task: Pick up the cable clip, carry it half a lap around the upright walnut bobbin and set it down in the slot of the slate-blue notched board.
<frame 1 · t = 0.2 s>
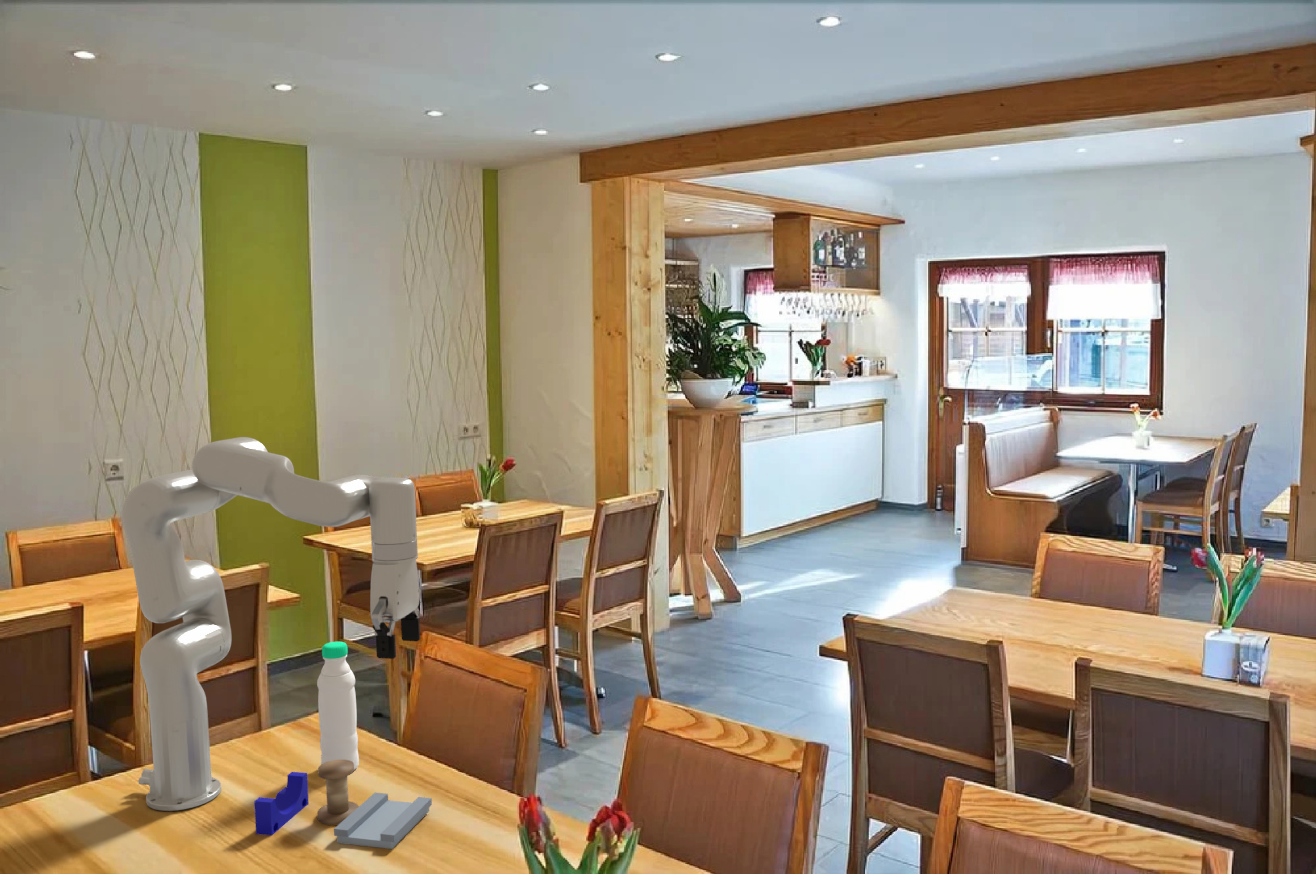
hand: (399, 649, 182), 31 cm above the table, tool pointing down, fingers open, 9 cm apart
bobbin: (338, 815, 187), on the table
water bottle: (340, 769, 207), on the table
notched board: (384, 826, 183), on the table
cable clip: (279, 820, 186), on the table
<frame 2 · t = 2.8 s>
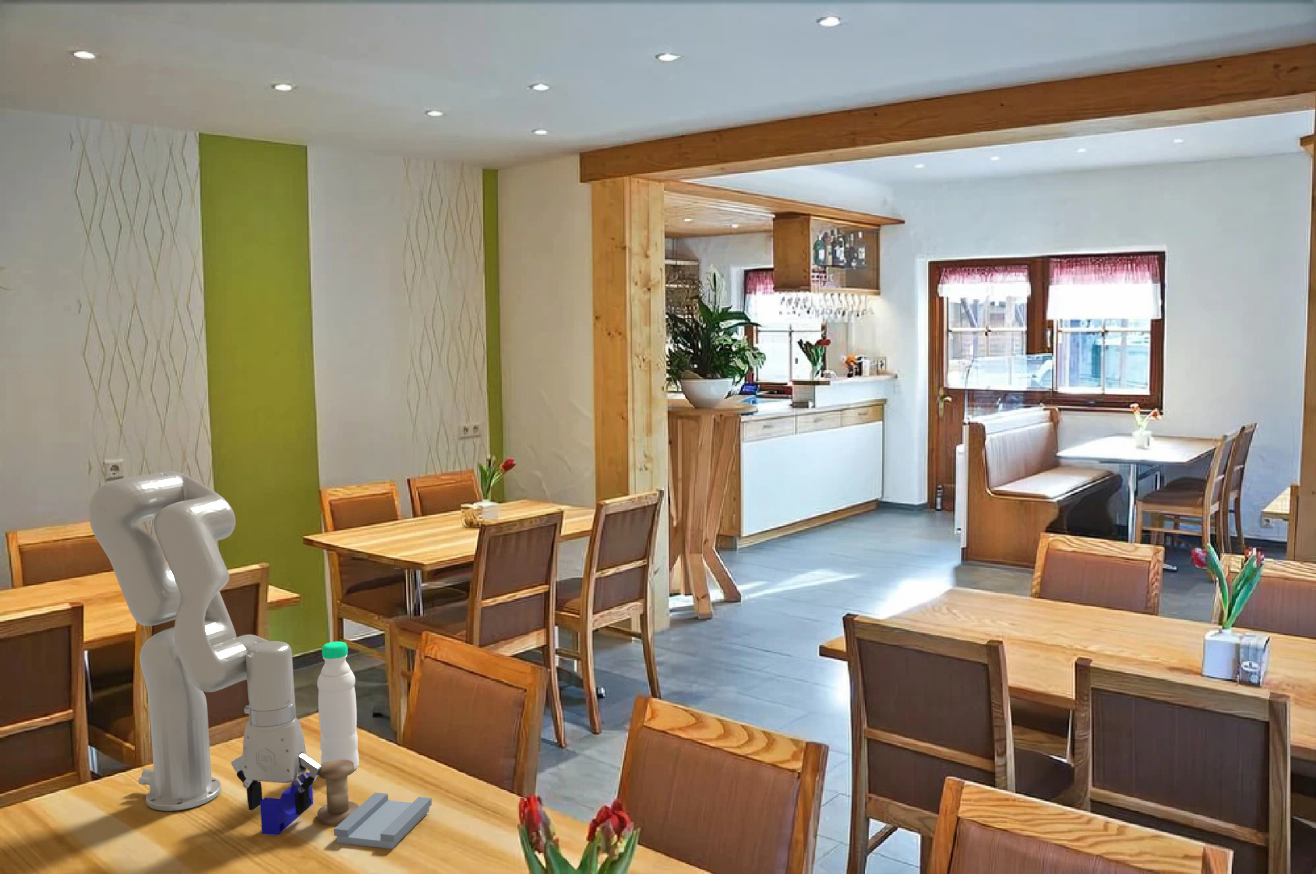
hand: (279, 809, 186), 2 cm above the table, tool pointing down, fingers open, 8 cm apart
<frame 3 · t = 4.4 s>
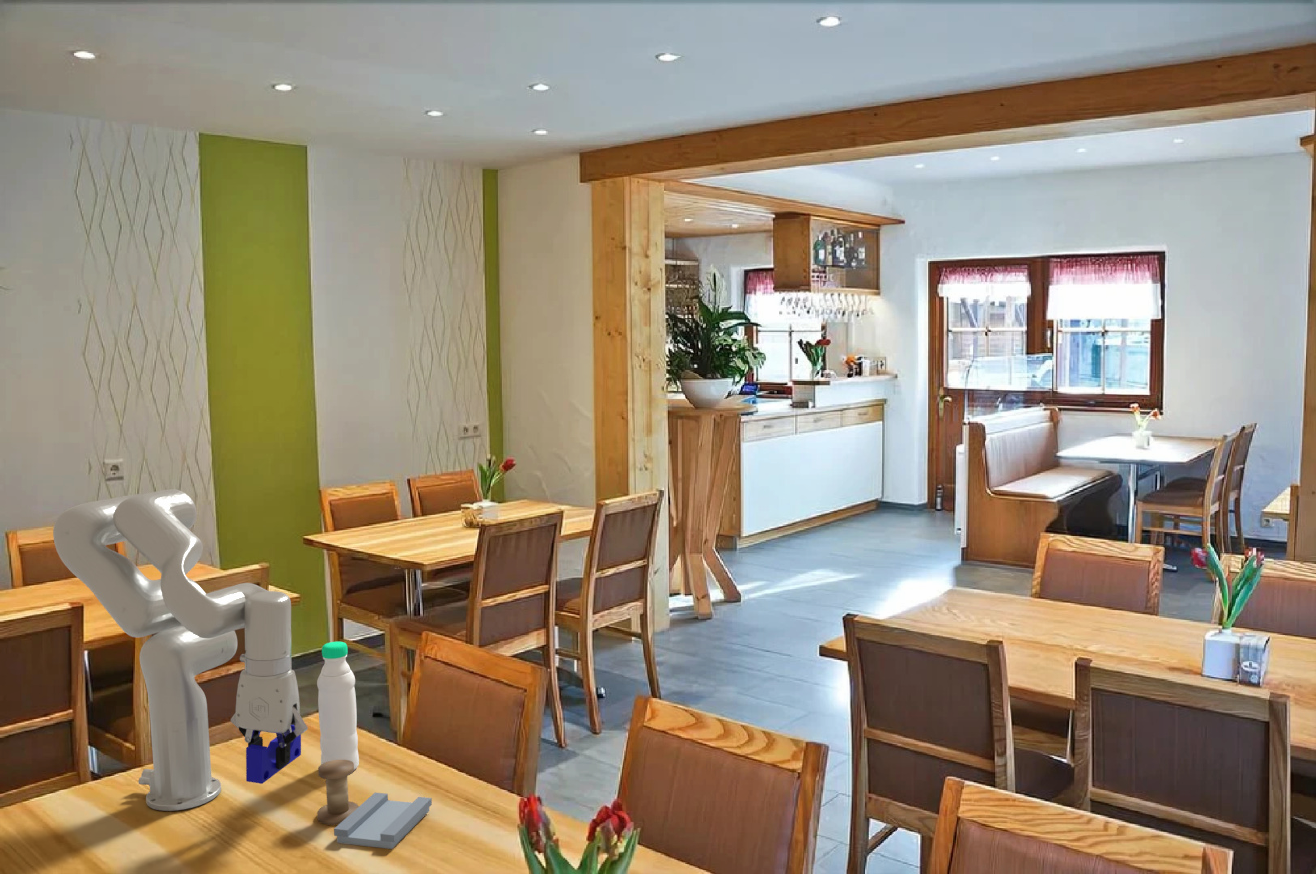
hand: (269, 763, 186), 10 cm above the table, tool pointing down, fingers closed on cable clip, 4 cm apart
cable clip: (270, 768, 186), point 9 cm above the table, touching gripper
everything else where it was.
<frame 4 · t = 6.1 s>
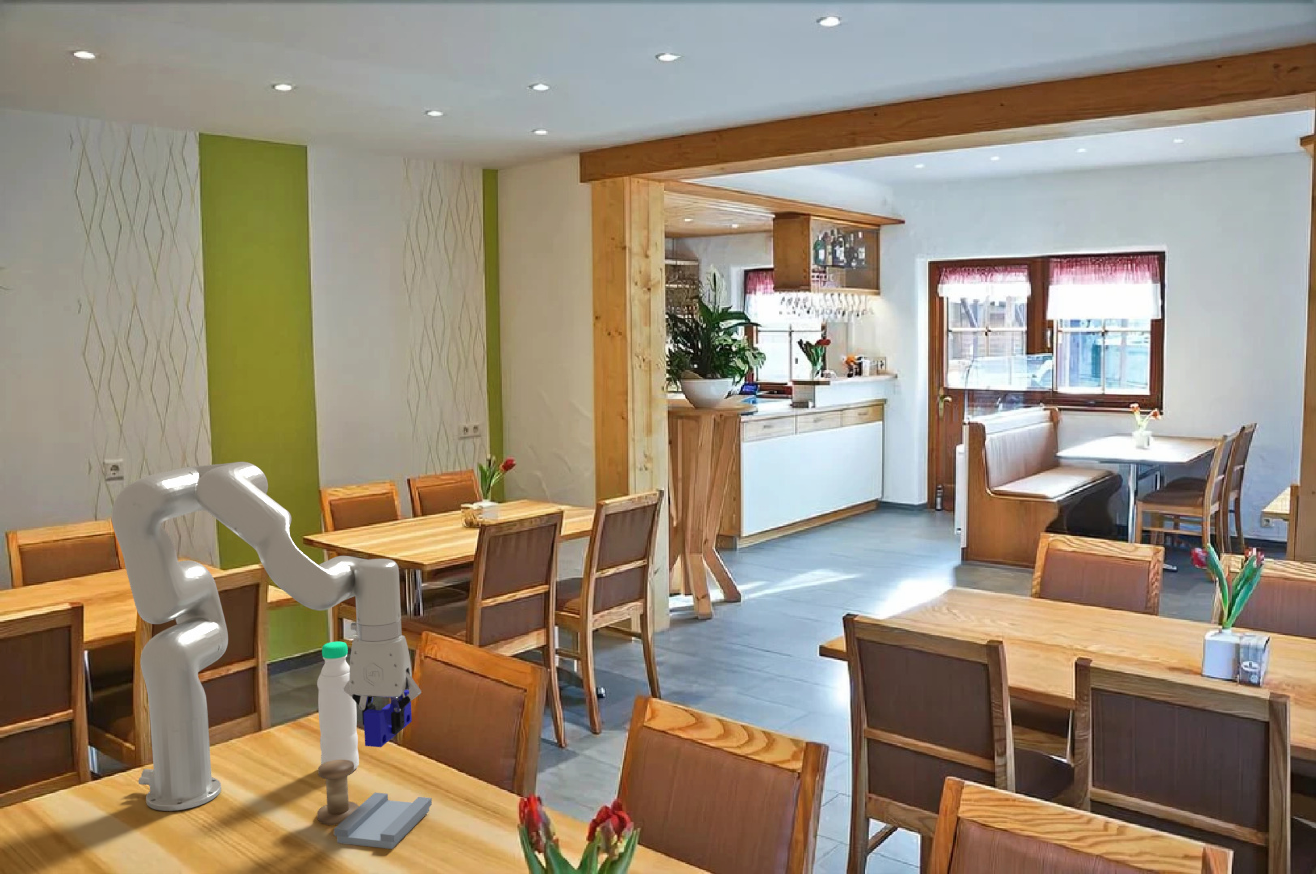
hand: (384, 729, 188), 15 cm above the table, tool pointing down, fingers closed on cable clip, 4 cm apart
cable clip: (385, 734, 189), point 13 cm above the table, touching gripper
everything else where it was.
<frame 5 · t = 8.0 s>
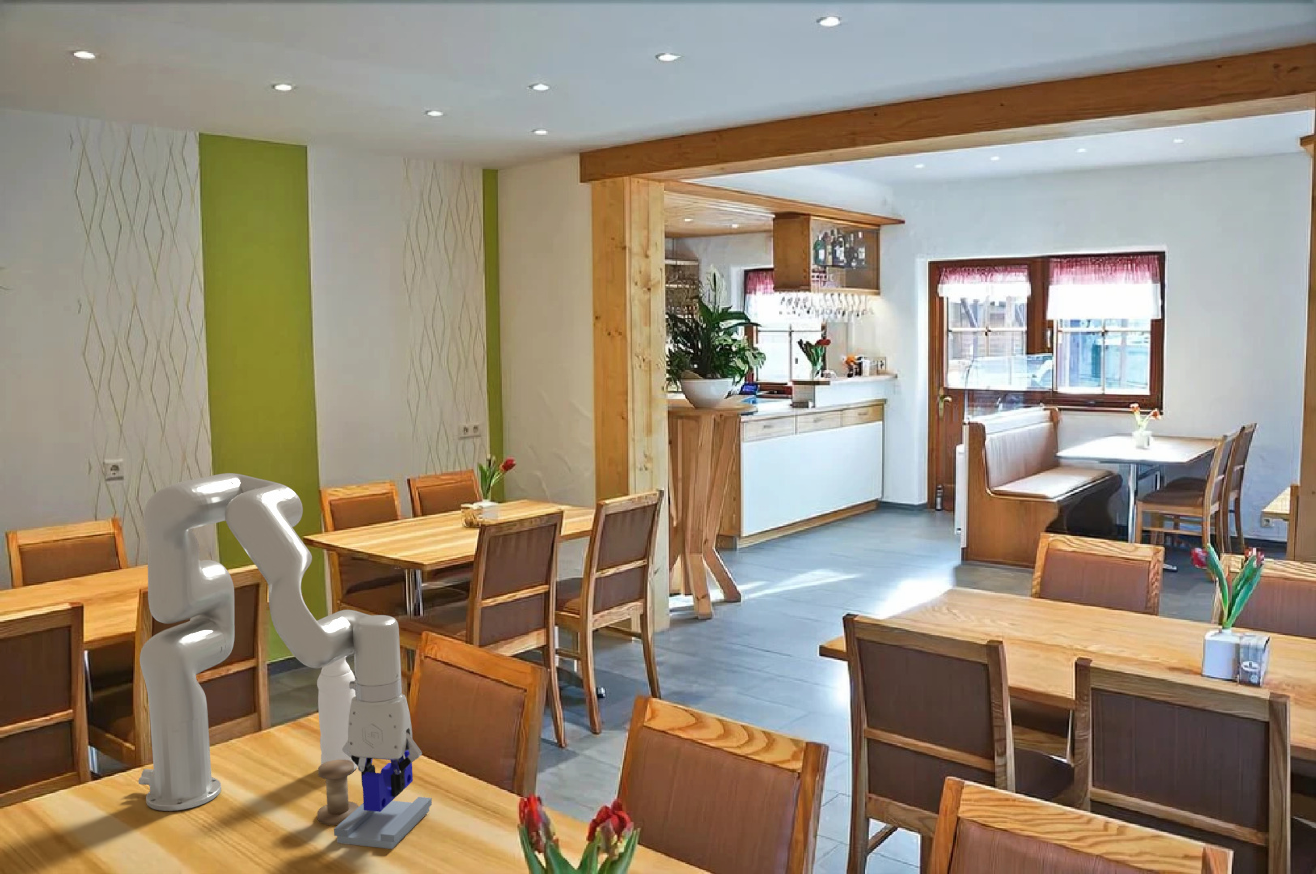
hand: (383, 791, 182), 6 cm above the table, tool pointing down, fingers closed on cable clip, 4 cm apart
cable clip: (385, 796, 183), point 5 cm above the table, touching gripper
everything else where it was.
when the fingers open (3 cm above the table, at t = 9.0 s): cable clip stays where it is, resting on notched board.
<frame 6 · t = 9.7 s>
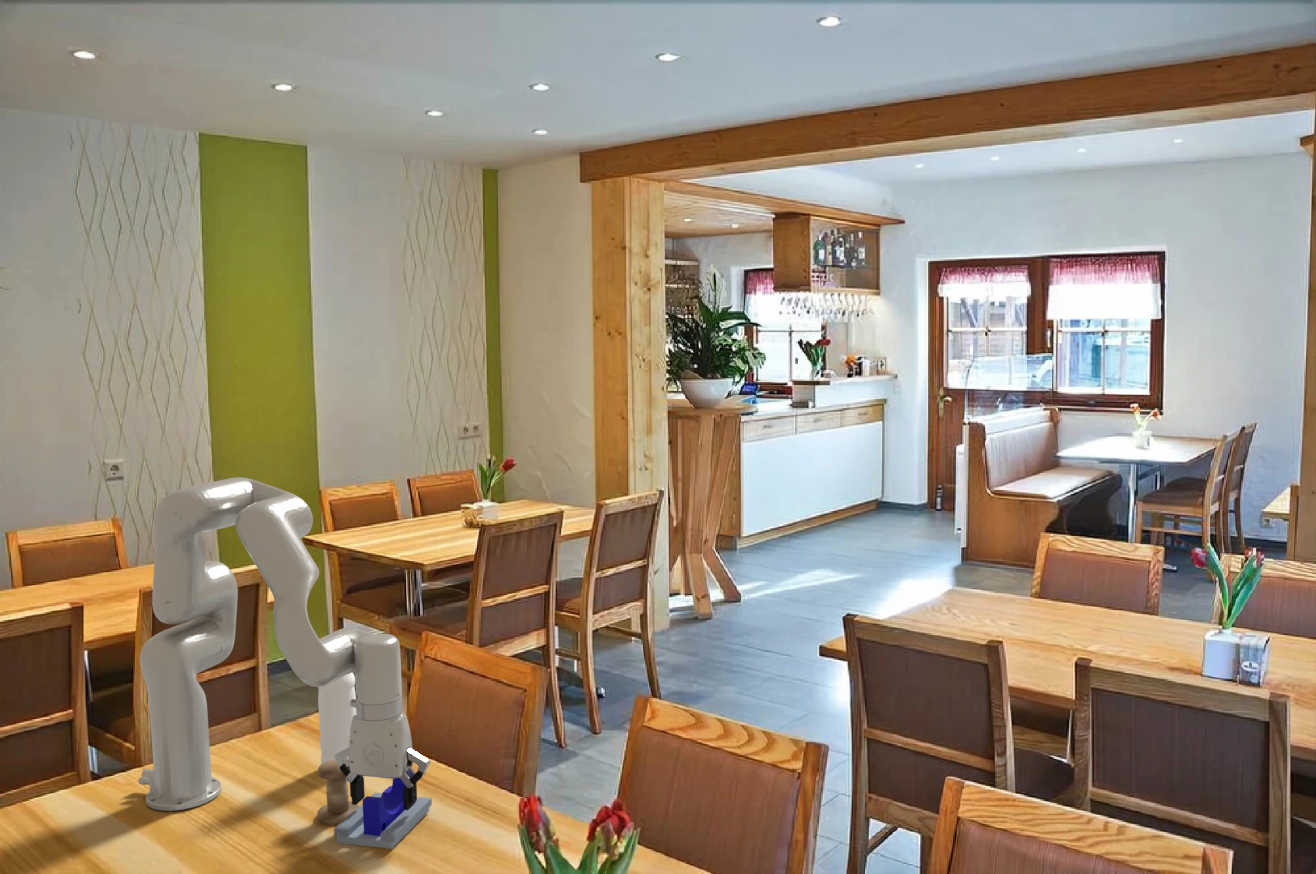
hand: (383, 804, 182), 4 cm above the table, tool pointing down, fingers open, 9 cm apart
cable clip: (385, 819, 183), point 1 cm above the table, touching notched board
everything else where it was.
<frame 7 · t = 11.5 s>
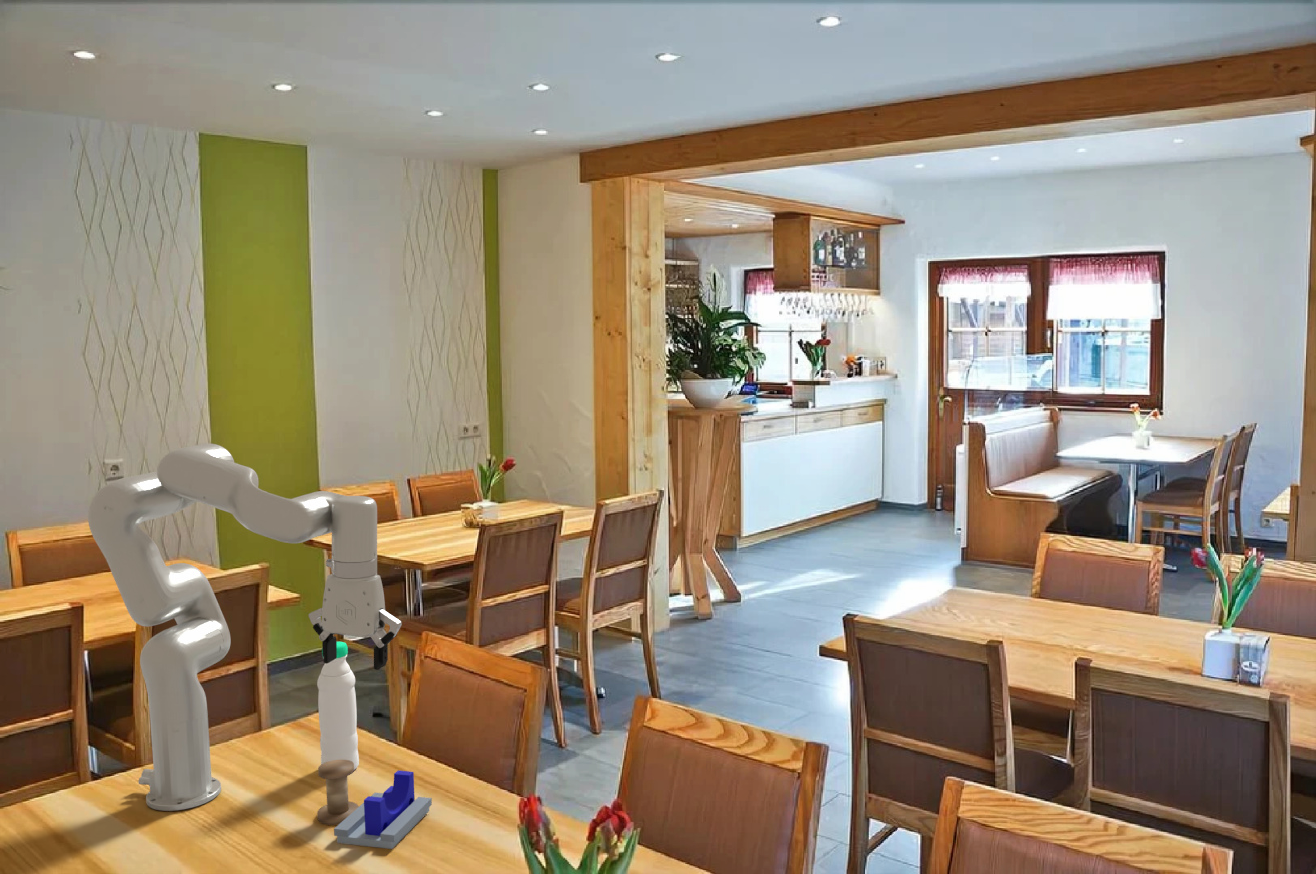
hand: (354, 664, 185), 27 cm above the table, tool pointing down, fingers open, 9 cm apart
nothing on the table moved.
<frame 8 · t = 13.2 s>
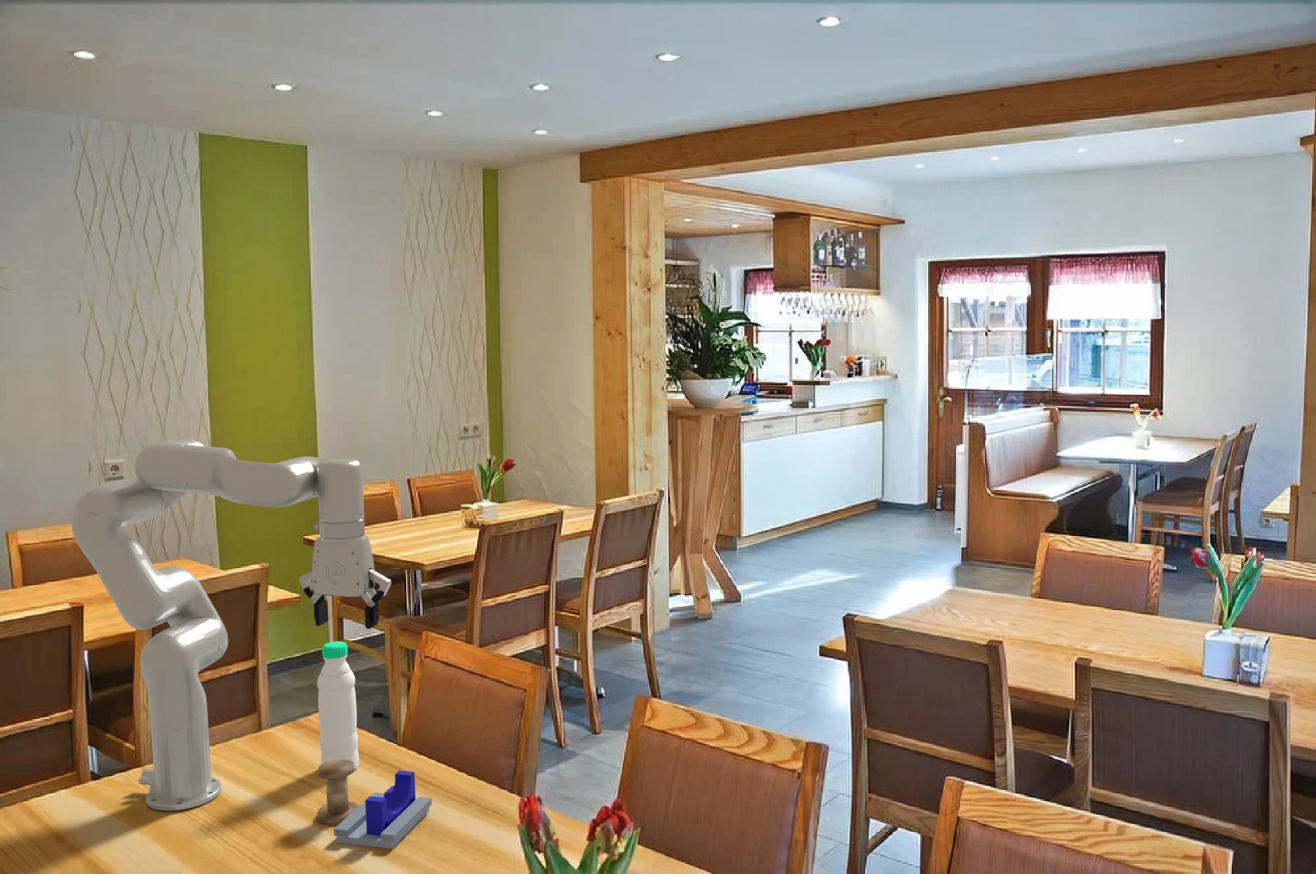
hand: (346, 625, 187), 33 cm above the table, tool pointing down, fingers open, 9 cm apart
nothing on the table moved.
at the end: cable clip inside the target area on the notched board (0.6 cm from its centre), point 1.0 cm above the notched board's base; the gripper is holding nothing; cable clip moved 20.5 cm from its start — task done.
